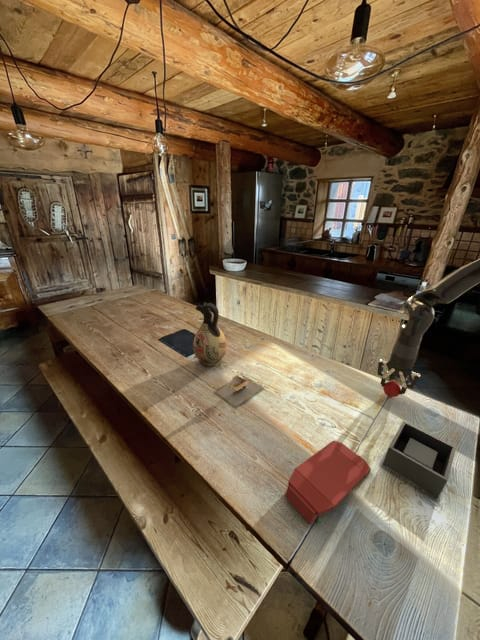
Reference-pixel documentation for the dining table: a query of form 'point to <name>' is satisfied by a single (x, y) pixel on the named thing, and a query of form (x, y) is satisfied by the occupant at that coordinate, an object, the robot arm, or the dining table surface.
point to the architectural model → (239, 390)
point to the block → (420, 453)
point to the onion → (392, 388)
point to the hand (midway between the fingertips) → (391, 389)
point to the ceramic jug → (209, 337)
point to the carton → (325, 480)
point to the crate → (414, 470)
